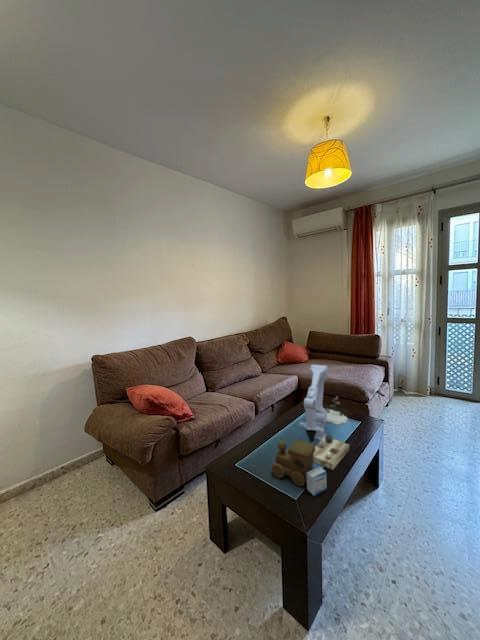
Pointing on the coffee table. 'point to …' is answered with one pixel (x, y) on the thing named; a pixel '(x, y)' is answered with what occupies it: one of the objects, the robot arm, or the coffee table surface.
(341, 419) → the figurine
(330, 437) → the black rubber ball
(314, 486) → the medicine box
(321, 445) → the steel ball
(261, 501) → the coffee table surface
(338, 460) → the cream knobbed board
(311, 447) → the wooden toy train
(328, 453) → the cream plastic ball
